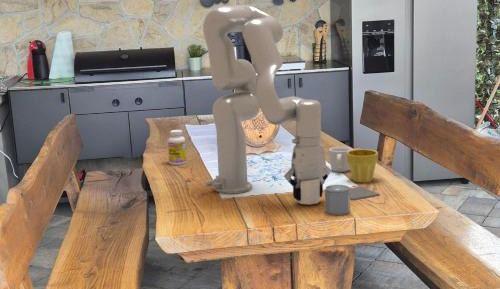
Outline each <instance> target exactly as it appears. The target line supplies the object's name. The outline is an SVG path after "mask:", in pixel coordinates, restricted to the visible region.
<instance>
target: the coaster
mask: <svg viewBox="0 0 500 289" xmlns="http://www.w3.org/2000/svg"><path fill="white" fill-rule="evenodd" d="M349 189H350V201H357V200H361V199H362V200H363V199H367V198H374V197H378V196H380V193H378V192H375V191H373V190H371V189H369V188H366V187H363V186H357V187H351V188H349Z"/></svg>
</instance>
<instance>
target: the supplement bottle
mask: <svg viewBox="0 0 500 289" xmlns="http://www.w3.org/2000/svg"><path fill="white" fill-rule="evenodd" d="M169 134H170V137H169V138H168V139H167V143H168V145H167V146H168V147H167V148H168V162H169V164H170V165H173V166H181V165H185V164H186V163H187V147H186V138H185V137H184V136H183V130H182V129H172V130H170V132H169Z"/></svg>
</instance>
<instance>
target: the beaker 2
mask: <svg viewBox="0 0 500 289" xmlns="http://www.w3.org/2000/svg"><path fill="white" fill-rule="evenodd" d="M350 189H351V188H350V187H349V186H348V185H346V184H345V185H344V184H331V185H327V186H326V187H325V190H324V198H325V199H324V200H325V201H324V211H325V213H327V214H328V215H332V216H333V215H334V216H343V215H349V213H350V211H351V199H350Z"/></svg>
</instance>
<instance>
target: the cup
mask: <svg viewBox="0 0 500 289" xmlns="http://www.w3.org/2000/svg"><path fill="white" fill-rule="evenodd" d="M351 150H352V148H351V147H349V146H334V147H330V148H329V149H328V152H329V153H328V154H329V163H330V169H331V171H333V172H335V173H336V172H337V173H345V172H347V171H349V170H350V165H349V163H348V162H347V152H348V151H351Z"/></svg>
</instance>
